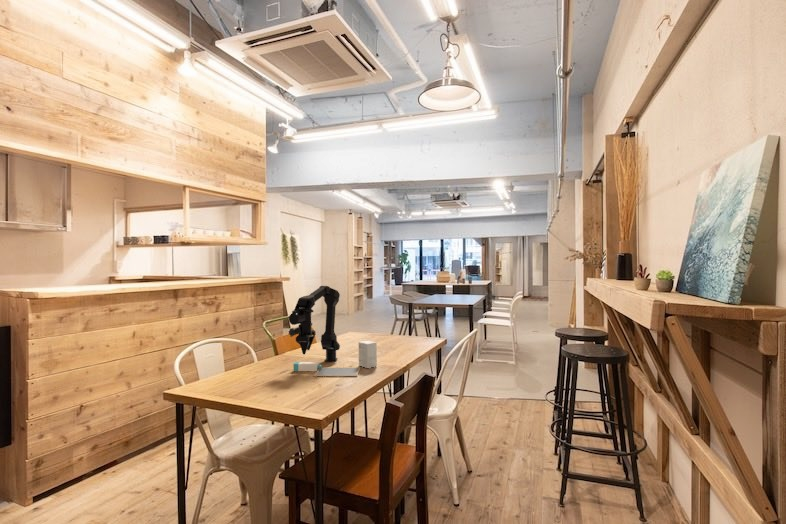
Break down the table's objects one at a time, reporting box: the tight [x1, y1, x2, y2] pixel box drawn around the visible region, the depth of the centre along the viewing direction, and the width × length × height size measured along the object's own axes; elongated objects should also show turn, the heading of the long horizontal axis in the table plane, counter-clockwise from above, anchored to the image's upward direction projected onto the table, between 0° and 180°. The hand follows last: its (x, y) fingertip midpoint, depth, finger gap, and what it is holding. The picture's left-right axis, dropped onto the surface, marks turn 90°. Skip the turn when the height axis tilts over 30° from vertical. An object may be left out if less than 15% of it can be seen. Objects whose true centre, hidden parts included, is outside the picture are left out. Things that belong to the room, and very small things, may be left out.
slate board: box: [313, 366, 361, 378], centre depth 214 cm, size 15×21×1 cm
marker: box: [292, 361, 323, 372], centre depth 218 cm, size 4×14×4 cm, turn 88°
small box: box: [358, 340, 378, 369], centre depth 225 cm, size 8×6×13 cm
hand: (306, 352), depth 218 cm, fingers open, 9 cm apart
